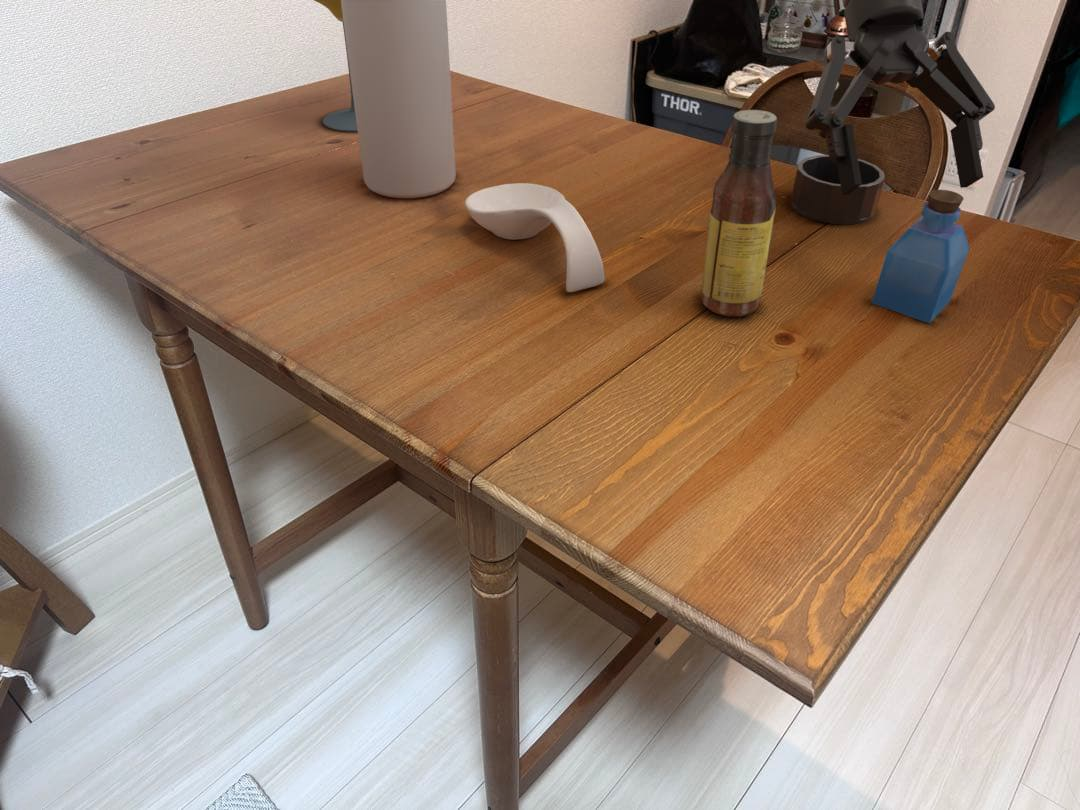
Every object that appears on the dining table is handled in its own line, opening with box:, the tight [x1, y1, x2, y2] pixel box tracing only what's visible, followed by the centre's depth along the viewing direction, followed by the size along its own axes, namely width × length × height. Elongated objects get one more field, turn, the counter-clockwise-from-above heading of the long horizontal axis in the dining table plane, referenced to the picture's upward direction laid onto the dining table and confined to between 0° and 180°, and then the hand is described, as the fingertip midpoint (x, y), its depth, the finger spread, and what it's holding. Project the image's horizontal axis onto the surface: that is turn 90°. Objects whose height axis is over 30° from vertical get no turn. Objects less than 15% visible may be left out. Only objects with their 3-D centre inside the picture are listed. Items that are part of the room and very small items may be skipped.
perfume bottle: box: [871, 189, 970, 324], centre depth 84 cm, size 6×6×12 cm
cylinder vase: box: [341, 0, 457, 199], centre depth 104 cm, size 12×12×25 cm
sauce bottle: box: [700, 109, 778, 318], centre depth 81 cm, size 6×6×20 cm
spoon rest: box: [464, 182, 606, 293], centre depth 94 cm, size 24×12×7 cm, turn 29°
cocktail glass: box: [313, 0, 358, 133], centre depth 124 cm, size 18×18×25 cm
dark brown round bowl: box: [789, 154, 886, 226], centre depth 105 cm, size 11×11×5 cm
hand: (912, 186), depth 85 cm, fingers open, 13 cm apart
